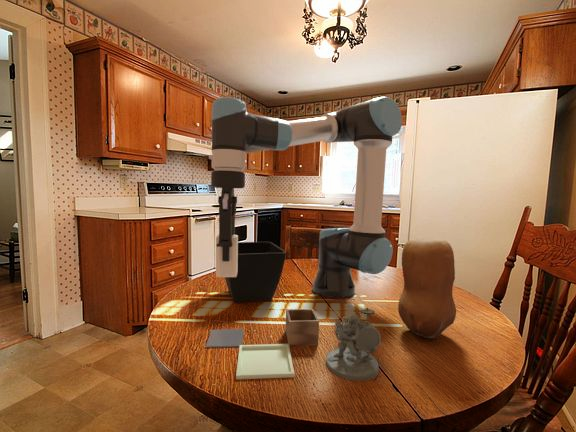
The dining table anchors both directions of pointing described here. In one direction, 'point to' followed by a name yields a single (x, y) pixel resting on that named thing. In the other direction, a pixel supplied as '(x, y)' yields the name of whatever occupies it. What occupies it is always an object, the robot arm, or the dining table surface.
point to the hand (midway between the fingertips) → (227, 271)
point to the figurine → (355, 349)
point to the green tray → (264, 361)
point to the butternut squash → (427, 287)
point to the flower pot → (256, 272)
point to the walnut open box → (302, 327)
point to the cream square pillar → (234, 259)
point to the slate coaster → (225, 338)
